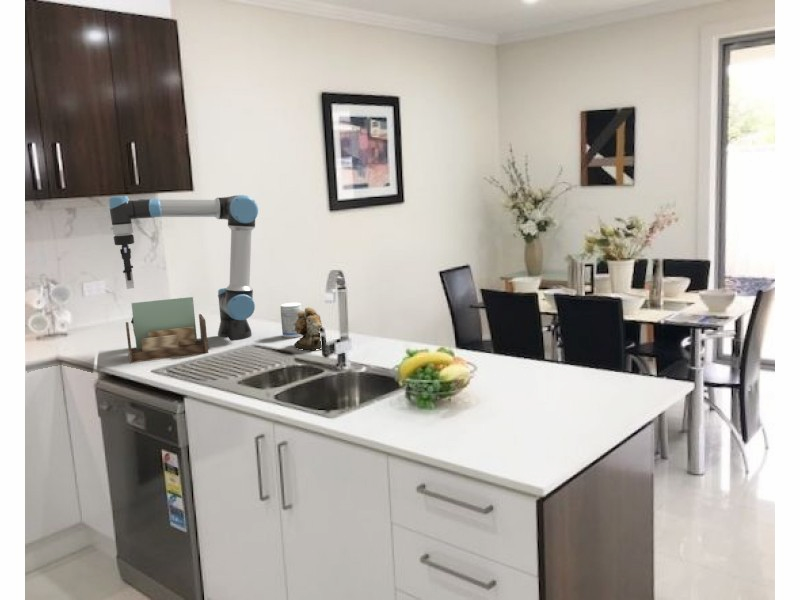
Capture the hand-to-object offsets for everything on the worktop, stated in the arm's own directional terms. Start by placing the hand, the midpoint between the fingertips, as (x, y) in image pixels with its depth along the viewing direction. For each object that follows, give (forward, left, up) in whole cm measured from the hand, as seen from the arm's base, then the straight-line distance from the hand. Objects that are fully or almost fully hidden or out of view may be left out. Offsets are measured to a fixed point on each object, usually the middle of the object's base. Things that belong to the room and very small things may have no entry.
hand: (130, 286), depth 282 cm
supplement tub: (-67, -2, -30) cm, 73 cm away
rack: (-12, +10, -30) cm, 33 cm away
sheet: (-12, +6, -28) cm, 31 cm away
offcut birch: (-9, +12, -28) cm, 32 cm away
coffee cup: (-4, -9, -30) cm, 31 cm away
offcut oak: (-14, +9, -28) cm, 32 cm away
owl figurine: (-68, +23, -30) cm, 77 cm away
